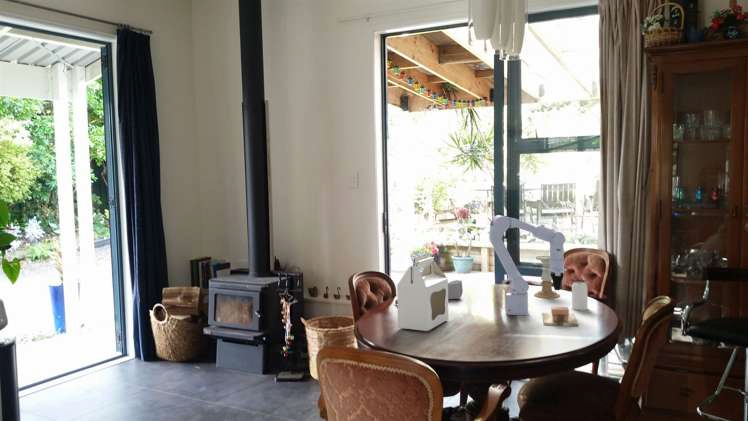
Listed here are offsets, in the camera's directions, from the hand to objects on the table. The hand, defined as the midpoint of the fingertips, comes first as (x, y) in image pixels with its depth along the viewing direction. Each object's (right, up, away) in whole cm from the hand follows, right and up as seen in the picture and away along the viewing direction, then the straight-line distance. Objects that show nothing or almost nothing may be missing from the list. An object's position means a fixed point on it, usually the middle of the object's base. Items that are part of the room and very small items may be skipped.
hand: (557, 289), depth 244 cm
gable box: (-59, -12, -14) cm, 62 cm away
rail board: (-4, -11, -14) cm, 18 cm away
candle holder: (+6, -9, +34) cm, 36 cm away
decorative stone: (-39, -10, +34) cm, 53 cm away
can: (+12, -10, +6) cm, 16 cm away
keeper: (-5, -9, -19) cm, 21 cm away
